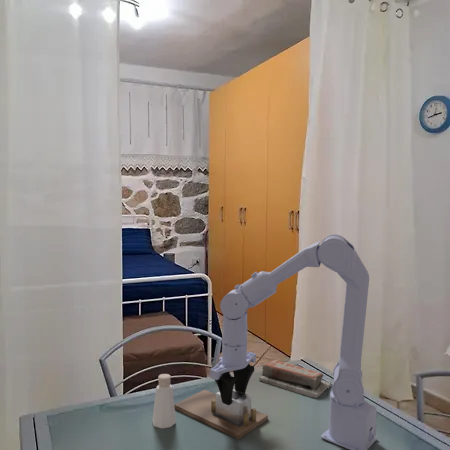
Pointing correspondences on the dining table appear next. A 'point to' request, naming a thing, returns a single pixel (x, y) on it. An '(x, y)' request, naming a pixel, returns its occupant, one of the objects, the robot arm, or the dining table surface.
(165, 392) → the salt shaker
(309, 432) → the dining table surface
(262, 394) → the dining table surface
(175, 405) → the walnut tray
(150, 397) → the dining table surface
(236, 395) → the block
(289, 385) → the packaged product
